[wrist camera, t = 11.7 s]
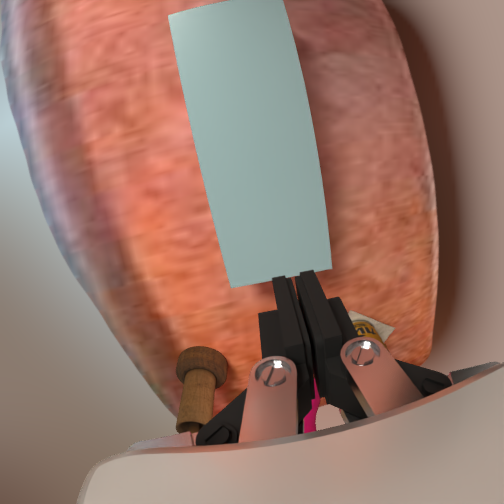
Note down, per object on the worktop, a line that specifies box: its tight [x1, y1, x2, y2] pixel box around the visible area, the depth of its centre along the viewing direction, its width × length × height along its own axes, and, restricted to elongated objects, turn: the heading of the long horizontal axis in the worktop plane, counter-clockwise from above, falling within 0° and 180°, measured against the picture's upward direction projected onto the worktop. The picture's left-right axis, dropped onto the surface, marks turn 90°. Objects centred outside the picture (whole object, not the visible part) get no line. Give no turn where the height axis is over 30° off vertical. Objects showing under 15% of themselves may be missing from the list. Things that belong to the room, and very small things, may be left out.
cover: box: [168, 0, 332, 288], centre depth 21 cm, size 24×9×1 cm, turn 11°
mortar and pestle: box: [176, 346, 227, 434], centre depth 28 cm, size 7×6×18 cm
